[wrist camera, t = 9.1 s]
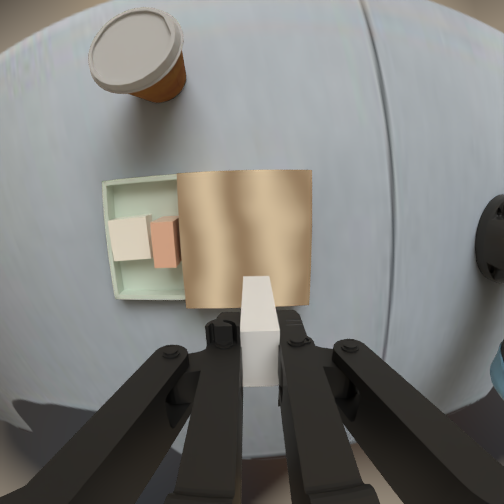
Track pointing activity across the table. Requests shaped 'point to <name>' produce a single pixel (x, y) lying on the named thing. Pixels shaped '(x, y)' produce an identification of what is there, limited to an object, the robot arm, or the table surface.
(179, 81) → the disposable coffee cup
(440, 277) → the table surface
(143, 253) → the cream tile
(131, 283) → the tray
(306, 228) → the tan wooden flat block
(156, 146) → the table surface
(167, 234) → the terracotta tile
